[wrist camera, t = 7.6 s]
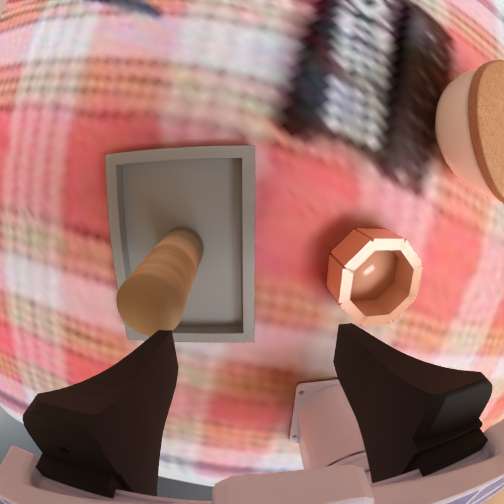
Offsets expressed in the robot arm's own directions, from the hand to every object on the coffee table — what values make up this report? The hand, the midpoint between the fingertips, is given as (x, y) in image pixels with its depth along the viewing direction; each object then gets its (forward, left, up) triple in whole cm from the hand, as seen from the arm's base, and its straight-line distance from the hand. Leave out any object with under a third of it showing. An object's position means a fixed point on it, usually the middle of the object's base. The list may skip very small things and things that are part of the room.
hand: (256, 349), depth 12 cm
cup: (0, -9, -10) cm, 14 cm away
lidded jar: (+12, -18, -11) cm, 24 cm away
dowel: (+2, +5, -10) cm, 11 cm away
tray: (+2, +5, -10) cm, 11 cm away
